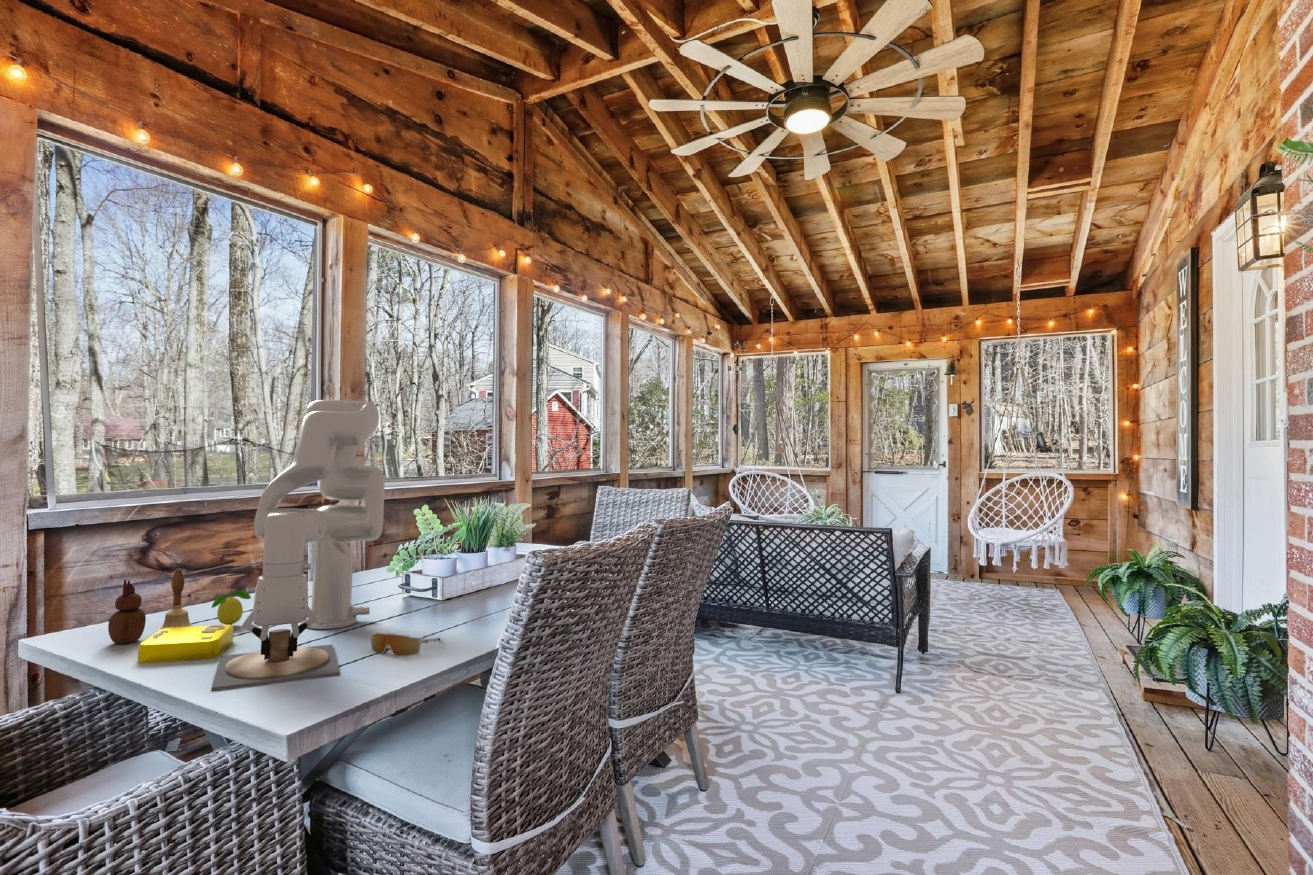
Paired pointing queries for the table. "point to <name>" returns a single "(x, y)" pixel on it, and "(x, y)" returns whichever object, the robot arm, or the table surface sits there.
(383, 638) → the sunglasses
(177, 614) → the hand bell
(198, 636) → the element tile
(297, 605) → the robot arm
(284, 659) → the lid
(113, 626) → the wooden figurine
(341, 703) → the table surface
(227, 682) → the mat
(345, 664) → the table surface
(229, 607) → the lemon
